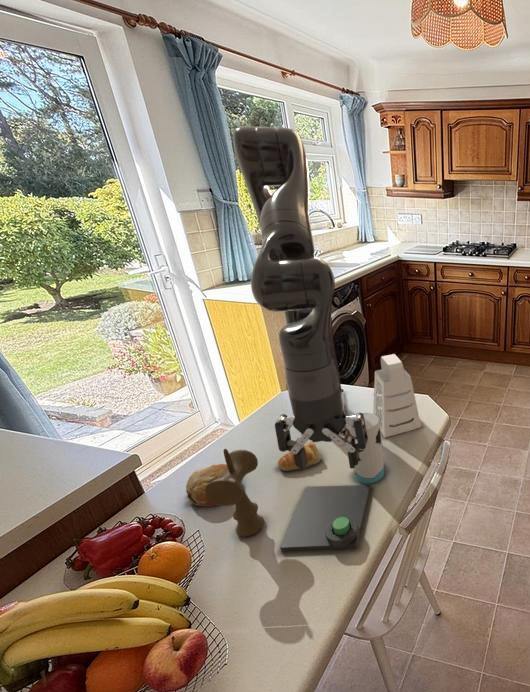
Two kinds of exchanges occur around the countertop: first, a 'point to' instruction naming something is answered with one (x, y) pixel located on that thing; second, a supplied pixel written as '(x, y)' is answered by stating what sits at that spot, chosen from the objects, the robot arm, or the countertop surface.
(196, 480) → the bread roll
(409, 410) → the grater
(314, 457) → the pastry
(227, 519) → the countertop surface
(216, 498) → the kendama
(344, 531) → the tare button
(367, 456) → the cup
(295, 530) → the scale
